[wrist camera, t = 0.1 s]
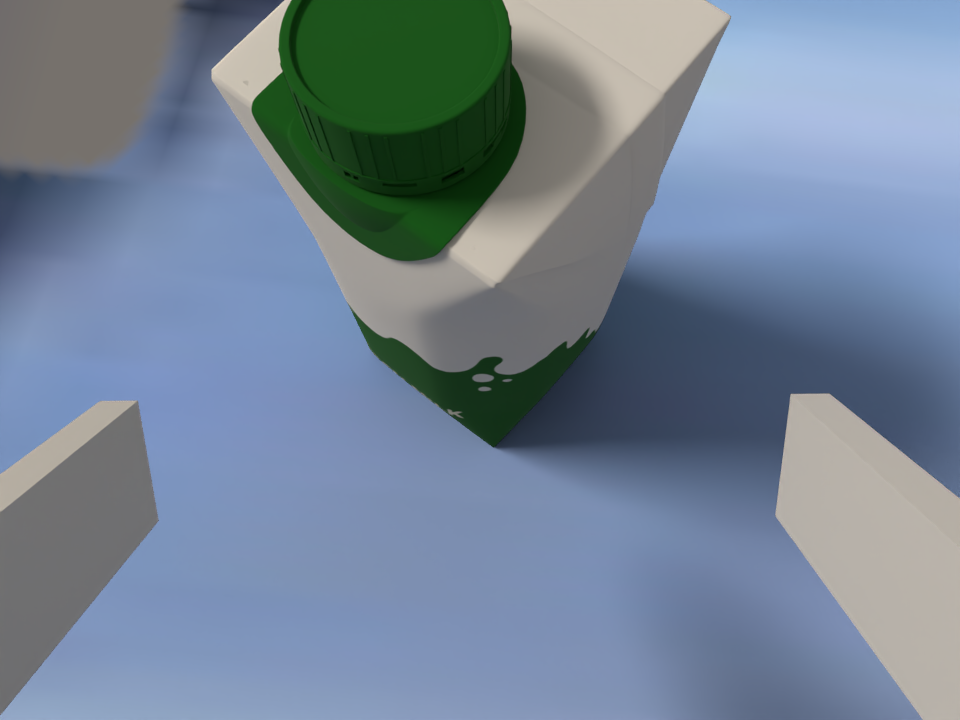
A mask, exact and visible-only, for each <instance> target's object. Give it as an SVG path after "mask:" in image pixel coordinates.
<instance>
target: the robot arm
mask: <svg viewBox="0 0 960 720" xmlns="http://www.w3.org/2000/svg"><path fill="white" fill-rule="evenodd" d="M775 516H776V517H777V519H778V520H779V522H780V523H781V524H782V526H783V527H784V529H785V530H786V531H787V533H788V534H789V535H790V537H791V538H792V540H793V541H794V542H795V544H796V545H797V546H798V548H799V549H800V551H801V552H802V553H803V555H804V556H805V558H806V559H807V560H808V562H809V563H810V564H811V566H812V567H813V569H814V570H815V571H816V573H817V574H818V575H819V577H820V578H821V580H822V581H823V582H824V584H825V585H826V586H827V588H828V589H829V591H830V592H831V593H832V595H833V596H834V598H835V599H836V600H837V602H838V603H839V604H840V606H841V607H842V609H843V610H844V611H845V613H846V614H847V615H848V617H849V618H850V620H851V621H852V622H853V624H854V625H855V627H856V628H857V629H858V631H859V632H860V633H861V635H862V636H863V638H864V639H865V640H866V642H867V643H868V644H869V646H870V647H871V649H872V650H873V651H874V653H875V654H876V656H877V657H878V658H879V660H880V661H881V662H882V664H883V665H884V667H885V668H886V669H887V671H888V672H889V673H890V675H891V676H892V678H893V679H894V680H895V682H896V683H897V685H898V686H899V687H900V689H901V690H902V691H903V693H904V694H905V696H906V697H907V698H908V700H909V701H910V702H911V704H912V705H913V707H914V708H915V709H916V711H917V712H918V714H919V715H920V716H921V718H922V719H923V720H960V499H959V498H958V497H957V496H956V495H955V494H953V493H952V492H951V491H950V490H948V489H947V488H946V487H945V486H943V485H942V484H941V483H940V482H938V481H937V480H936V479H935V478H933V477H932V476H931V475H930V474H928V473H927V472H926V471H925V470H924V469H922V468H921V467H920V466H919V465H917V464H916V463H915V462H914V461H912V460H911V459H910V458H909V457H907V456H906V455H905V454H904V453H902V452H901V451H900V450H899V449H897V448H896V447H895V446H894V445H893V444H891V443H890V442H889V441H888V440H886V439H885V438H884V437H883V436H881V435H880V434H879V433H878V432H876V431H875V430H874V429H873V428H871V427H870V426H869V425H868V424H866V423H865V422H864V421H863V420H861V419H860V418H859V417H858V416H857V415H855V414H854V413H853V412H852V411H850V410H849V409H848V408H847V407H845V406H844V405H843V404H842V403H840V402H839V401H838V400H837V399H835V398H834V397H833V396H832V395H830V394H791V396H790V404H789V412H788V420H787V428H786V436H785V443H784V451H783V459H782V467H781V475H780V483H779V491H778V498H777V506H776V514H775ZM158 521H159V520H158V514H157V509H156V503H155V497H154V491H153V486H152V480H151V474H150V468H149V463H148V457H147V451H146V445H145V439H144V434H143V428H142V422H141V416H140V411H139V405H138V401H100V402H98V403H97V404H95V405H94V406H93V407H91V408H90V409H89V410H87V411H86V412H85V413H83V414H82V415H81V416H79V417H78V418H76V419H75V420H74V421H72V422H71V423H70V424H68V425H67V426H66V427H64V428H63V429H61V430H60V431H59V432H57V433H56V434H55V435H53V436H52V437H51V438H49V439H48V440H46V441H45V442H44V443H42V444H41V445H40V446H38V447H37V448H36V449H34V450H33V451H31V452H30V453H29V454H27V455H26V456H25V457H23V458H22V459H21V460H19V461H18V462H16V463H15V464H14V465H12V466H11V467H10V468H8V469H7V470H6V471H4V472H3V473H1V474H0V715H1V714H2V713H3V711H4V710H5V709H6V708H7V706H8V705H9V704H10V703H11V702H12V700H13V699H14V698H15V697H16V695H17V694H18V693H19V692H20V690H21V689H22V688H23V687H24V686H25V684H26V683H27V682H28V681H29V679H30V678H31V677H32V676H33V674H34V673H35V672H36V671H37V670H38V668H39V667H40V666H41V665H42V663H43V662H44V661H45V660H46V659H47V657H48V656H49V655H50V654H51V652H52V651H53V650H54V649H55V647H56V646H57V645H58V644H59V643H60V641H61V640H62V639H63V638H64V636H65V635H66V634H67V633H68V631H69V630H70V629H71V628H72V627H73V625H74V624H75V623H76V622H77V620H78V619H79V618H80V617H81V616H82V614H83V613H84V612H85V611H86V609H87V608H88V607H89V606H90V604H91V603H92V602H93V601H94V600H95V598H96V597H97V596H98V595H99V593H100V592H101V591H102V590H103V588H104V587H105V586H106V585H107V584H108V582H109V581H110V580H111V579H112V577H113V576H114V575H115V574H116V573H117V571H118V570H119V569H120V568H121V566H122V565H123V564H124V563H125V561H126V560H127V559H128V558H129V557H130V555H131V554H132V553H133V552H134V550H135V549H136V548H137V547H138V545H139V544H140V543H141V542H142V541H143V539H144V538H145V537H146V536H147V534H148V533H149V532H150V531H151V530H152V528H153V527H154V526H155V525H156V523H157V522H158Z"/></svg>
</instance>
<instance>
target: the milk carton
mask: <svg viewBox="0 0 960 720" xmlns="http://www.w3.org/2000/svg"><path fill="white" fill-rule="evenodd" d="M730 19H731V16H730V15H729V14H727V13H725V12H724V11H722V10H721V9H719V8H717V7H716V6H714V5H712V4H711V3H709V2H707V1H706V0H285V1H284V2H282V3H281V4H280V5H279V6H278V7H277V8H276V9H275V10H274V11H273V12H272V13H271V14H270V15H269V16H268V17H267V18H265V19H264V20H263V21H262V22H261V23H260V24H259V25H258V26H257V27H256V28H255V29H254V30H253V31H252V32H251V33H249V34H248V35H247V36H246V37H245V38H244V39H243V40H242V41H241V42H240V43H239V44H238V45H237V46H236V47H235V48H233V49H232V50H231V51H230V52H229V53H228V54H227V55H226V56H225V57H224V58H223V59H222V60H221V61H220V62H219V63H218V64H217V65H216V66H215V67H214V68H213V69H212V81H213V82H214V84H215V85H216V87H217V88H218V90H219V91H220V93H221V94H222V96H223V97H224V99H225V100H226V102H227V103H228V105H229V106H230V108H231V109H232V111H233V112H234V114H235V115H236V117H237V118H238V120H239V121H240V123H241V124H242V126H243V127H244V129H245V131H246V132H247V134H248V135H249V137H250V138H251V140H252V141H253V143H254V144H255V146H256V147H257V149H258V150H259V152H260V153H261V155H262V156H263V158H264V159H265V161H266V162H267V164H268V165H269V167H270V169H271V170H272V172H273V173H274V175H275V176H276V178H277V179H278V181H279V182H280V184H281V185H282V187H283V188H284V190H285V192H286V193H287V195H288V196H289V198H290V199H291V201H292V202H293V204H294V205H295V207H296V208H297V210H298V212H299V213H300V215H301V216H302V218H303V219H304V221H305V222H306V224H307V226H308V227H309V229H310V230H311V232H312V234H313V236H314V237H315V239H316V241H317V243H318V245H319V247H320V248H321V250H322V252H323V254H324V256H325V258H326V260H327V262H328V264H329V266H330V268H331V270H332V272H333V274H334V276H335V278H336V280H337V283H338V285H339V287H340V289H341V291H342V293H343V295H344V297H345V299H346V301H347V303H348V305H349V307H350V309H351V311H352V313H353V315H354V317H355V319H356V321H357V323H358V325H359V327H360V329H361V331H362V333H363V335H364V337H365V339H366V341H367V344H368V346H369V348H370V350H371V351H372V352H373V354H374V355H375V356H376V357H377V358H378V359H379V360H381V361H382V362H383V363H384V364H386V365H387V366H388V367H389V368H390V369H392V370H393V371H394V372H395V373H396V374H397V375H399V376H400V377H401V378H402V379H404V380H405V381H406V382H407V383H408V384H410V385H411V386H412V387H413V388H415V389H416V390H417V391H419V392H420V393H421V394H422V395H424V396H425V397H426V398H428V399H429V400H430V401H432V402H433V403H434V404H436V405H437V406H438V407H440V408H441V409H442V410H443V411H445V412H446V413H448V414H449V415H450V416H452V417H453V418H454V419H456V420H457V421H458V422H460V423H461V424H462V425H464V426H465V427H466V428H468V429H469V430H470V431H472V432H473V433H474V434H476V435H477V436H479V437H480V438H481V439H483V440H484V441H485V442H487V443H488V444H489V445H491V446H492V447H495V446H496V445H497V444H498V443H499V442H500V441H501V440H502V439H503V438H504V437H505V436H506V435H507V434H508V433H509V432H510V431H511V429H512V428H513V427H514V426H515V425H516V424H517V423H518V422H519V421H520V420H521V419H522V418H523V417H524V416H525V415H526V414H527V413H528V412H529V411H530V410H531V409H532V408H533V407H534V406H535V405H536V404H537V403H538V402H539V401H540V400H541V398H542V397H543V396H544V395H545V394H546V393H547V392H548V391H549V390H550V388H551V387H552V386H553V385H554V384H555V383H556V382H557V380H558V379H559V378H560V377H561V376H562V375H563V374H564V372H565V371H566V370H567V369H568V368H569V366H570V365H571V364H572V363H573V362H574V361H575V359H576V358H577V357H578V356H579V355H580V353H581V352H582V351H583V350H584V349H585V347H586V346H587V345H588V344H589V342H590V341H591V340H592V338H593V337H594V335H595V334H596V332H597V331H598V329H599V327H600V325H601V323H602V321H603V319H604V317H605V315H606V312H607V310H608V307H609V305H610V303H611V300H612V298H613V295H614V293H615V290H616V288H617V286H618V283H619V281H620V278H621V276H622V274H623V271H624V269H625V266H626V264H627V261H628V259H629V257H630V254H631V252H632V249H633V247H634V244H635V242H636V240H637V237H638V234H639V232H640V229H641V226H642V223H643V220H644V217H645V215H646V212H647V211H648V210H649V209H650V208H651V206H652V205H653V203H654V200H655V196H656V193H657V188H658V184H659V179H660V176H661V174H662V172H663V169H664V167H665V165H666V162H667V160H668V158H669V156H670V153H671V151H672V149H673V146H674V144H675V142H676V140H677V137H678V135H679V133H680V130H681V128H682V126H683V124H684V121H685V119H686V117H687V115H688V112H689V110H690V108H691V105H692V103H693V101H694V99H695V96H696V94H697V92H698V89H699V87H700V85H701V83H702V80H703V78H704V76H705V74H706V71H707V69H708V67H709V64H710V62H711V60H712V58H713V55H714V53H715V51H716V48H717V46H718V44H719V42H720V40H721V38H722V36H723V34H724V32H725V30H726V28H727V26H728V24H729V21H730Z"/></svg>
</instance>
